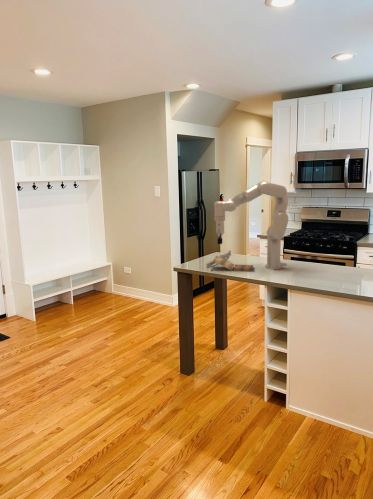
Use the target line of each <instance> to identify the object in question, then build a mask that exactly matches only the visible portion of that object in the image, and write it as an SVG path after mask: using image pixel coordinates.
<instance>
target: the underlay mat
mask: <svg viewBox="0 0 373 499" xmlns="http://www.w3.org/2000/svg"><path fill="white" fill-rule="evenodd" d="M234 267H235V266H234ZM234 267H233V269H232V270H230V269H228V268H226V267H224V266H215V265H214V266H213V265H212V268H211V269H210V271H211V272H214V271H215V272H235V271H234ZM255 269H256V268H255V267H254V266H253V271H240V272H246V273H247V272H248V273H249V272H250V273H255Z"/></svg>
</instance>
